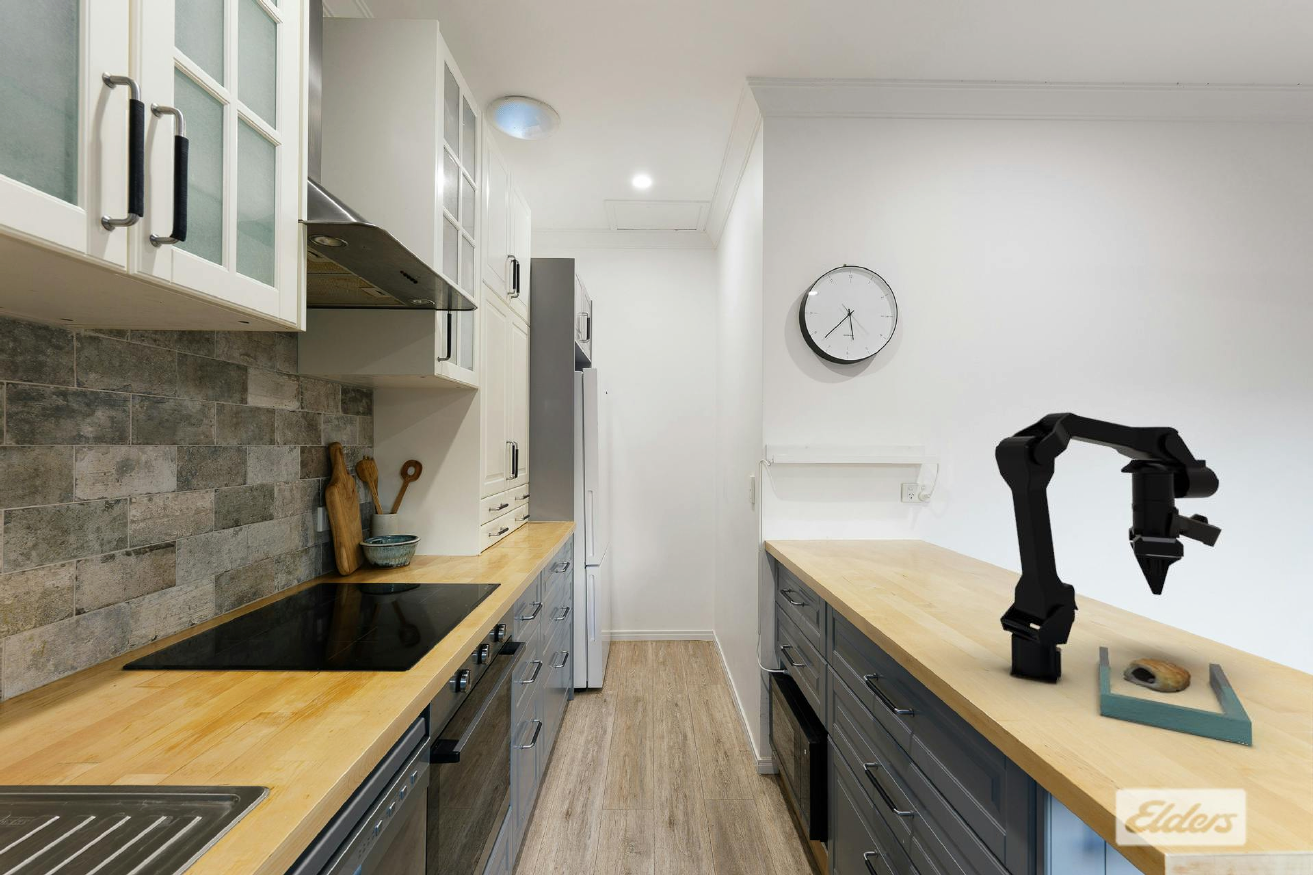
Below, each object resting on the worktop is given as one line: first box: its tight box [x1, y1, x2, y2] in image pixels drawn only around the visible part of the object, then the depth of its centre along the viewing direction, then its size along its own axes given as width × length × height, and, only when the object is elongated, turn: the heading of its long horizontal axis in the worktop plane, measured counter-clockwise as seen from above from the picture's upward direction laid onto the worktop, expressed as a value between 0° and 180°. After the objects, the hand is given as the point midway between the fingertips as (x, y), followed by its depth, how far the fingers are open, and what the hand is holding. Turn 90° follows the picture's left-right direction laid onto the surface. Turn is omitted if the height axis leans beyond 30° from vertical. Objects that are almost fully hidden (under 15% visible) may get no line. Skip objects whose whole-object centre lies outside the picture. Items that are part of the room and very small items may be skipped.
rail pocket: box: [1098, 645, 1253, 746], centre depth 91 cm, size 15×24×3 cm, turn 144°
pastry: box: [1122, 658, 1192, 693], centre depth 97 cm, size 9×7×4 cm
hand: (1154, 589), depth 104 cm, fingers open, 8 cm apart
